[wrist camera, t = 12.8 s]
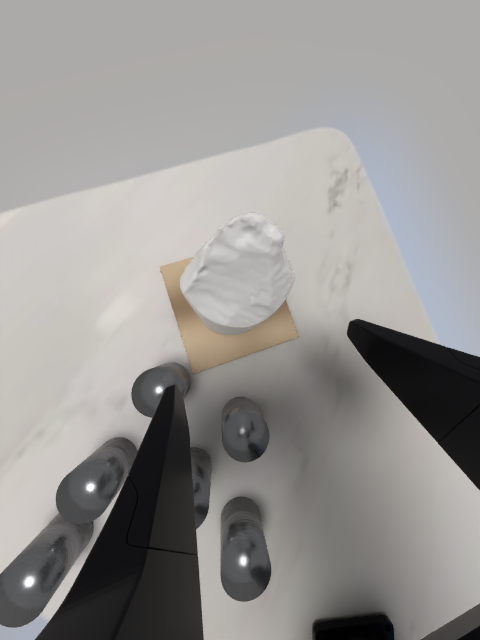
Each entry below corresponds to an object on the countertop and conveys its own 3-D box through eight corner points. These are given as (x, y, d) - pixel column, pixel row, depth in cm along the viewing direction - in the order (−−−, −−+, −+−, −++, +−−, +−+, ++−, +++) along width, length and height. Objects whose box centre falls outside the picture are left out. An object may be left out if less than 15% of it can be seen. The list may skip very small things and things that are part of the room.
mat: (297, 336, 19) (298, 336, 19) (193, 373, 18) (193, 374, 18) (262, 239, 20) (262, 237, 20) (160, 267, 19) (159, 266, 18)
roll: (179, 342, 6) (134, 174, 7) (207, 343, 18) (190, 283, 18) (357, 291, 7) (305, 143, 7) (271, 325, 19) (253, 267, 19)
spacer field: (258, 362, 18) (268, 366, 14) (259, 538, 17) (271, 598, 13) (65, 363, 17) (18, 368, 13) (45, 556, 15) (-16, 630, 11)
